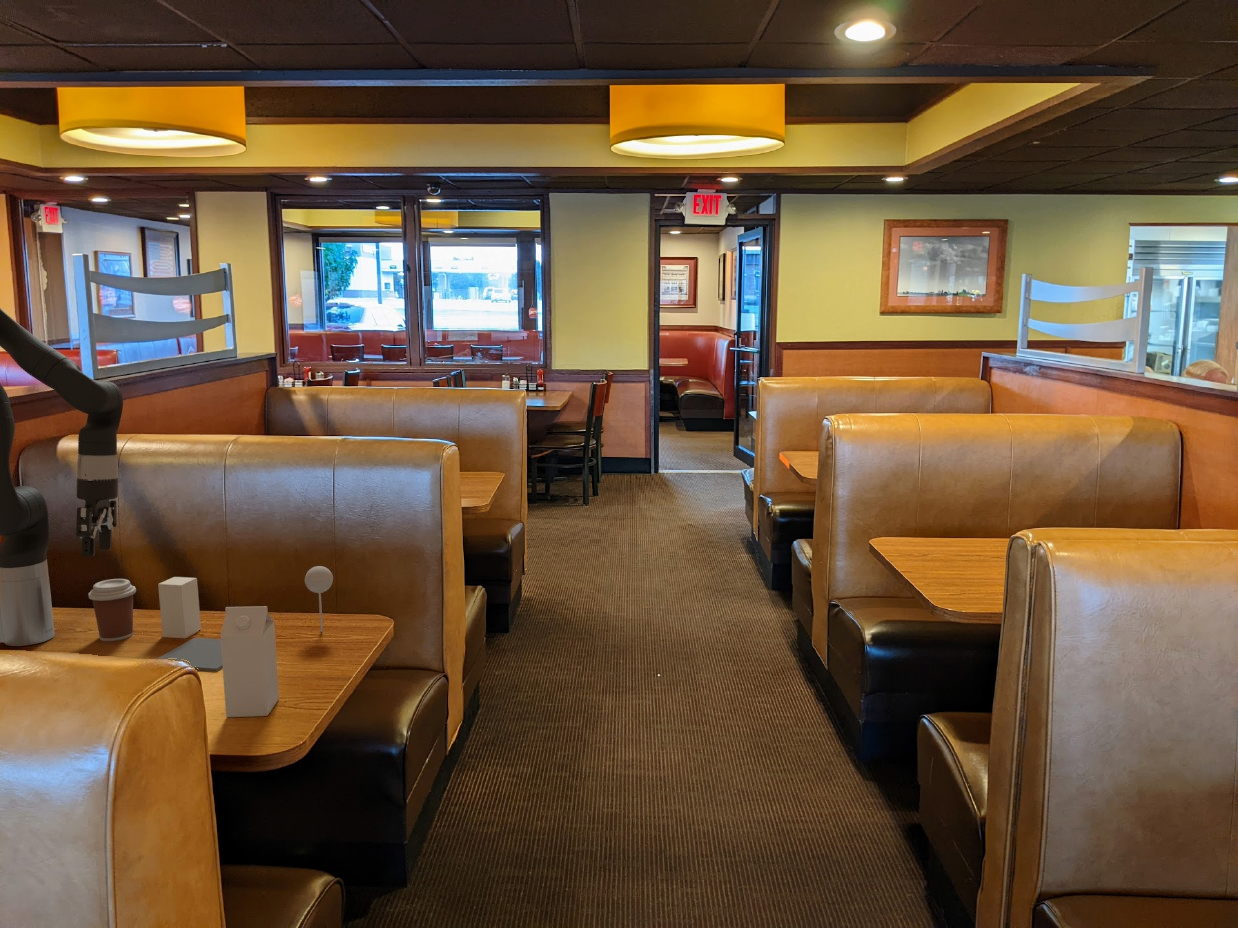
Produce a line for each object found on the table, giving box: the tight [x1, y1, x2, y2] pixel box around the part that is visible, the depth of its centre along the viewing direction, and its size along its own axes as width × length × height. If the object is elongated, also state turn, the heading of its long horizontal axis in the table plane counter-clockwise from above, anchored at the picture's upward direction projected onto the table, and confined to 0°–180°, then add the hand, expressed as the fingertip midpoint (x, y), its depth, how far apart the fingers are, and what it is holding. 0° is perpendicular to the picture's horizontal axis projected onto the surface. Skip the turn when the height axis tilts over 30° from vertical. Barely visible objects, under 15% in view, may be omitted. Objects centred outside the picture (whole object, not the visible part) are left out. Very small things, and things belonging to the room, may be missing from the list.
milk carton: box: [219, 605, 280, 718], centre depth 161 cm, size 7×7×19 cm
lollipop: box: [304, 565, 334, 633], centre depth 200 cm, size 6×6×15 cm
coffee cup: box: [87, 578, 137, 642], centre depth 198 cm, size 9×9×12 cm
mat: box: [157, 637, 223, 672], centre depth 188 cm, size 15×15×1 cm
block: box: [157, 576, 202, 639], centre depth 199 cm, size 6×6×12 cm
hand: (97, 552), depth 191 cm, fingers open, 8 cm apart
